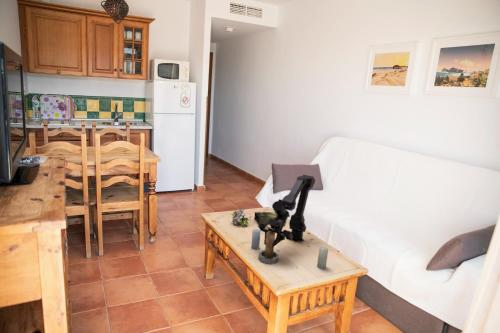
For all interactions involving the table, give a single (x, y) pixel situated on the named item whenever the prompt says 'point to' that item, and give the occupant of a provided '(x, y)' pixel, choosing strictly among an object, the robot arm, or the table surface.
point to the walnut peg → (269, 244)
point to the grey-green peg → (322, 257)
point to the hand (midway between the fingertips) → (268, 245)
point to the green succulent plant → (240, 217)
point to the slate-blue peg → (255, 239)
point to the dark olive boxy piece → (264, 216)
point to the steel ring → (268, 260)
